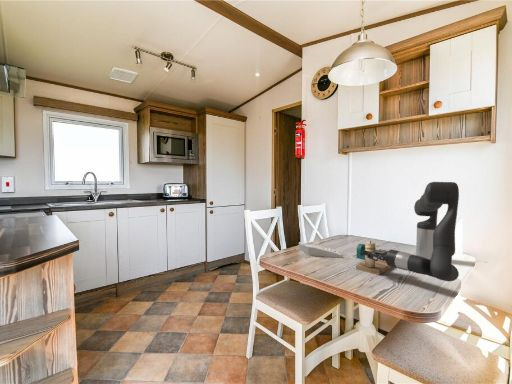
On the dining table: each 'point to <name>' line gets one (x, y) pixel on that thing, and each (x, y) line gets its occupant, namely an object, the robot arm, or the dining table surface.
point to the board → (378, 269)
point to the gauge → (371, 247)
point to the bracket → (360, 251)
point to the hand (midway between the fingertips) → (365, 251)
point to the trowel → (318, 250)
